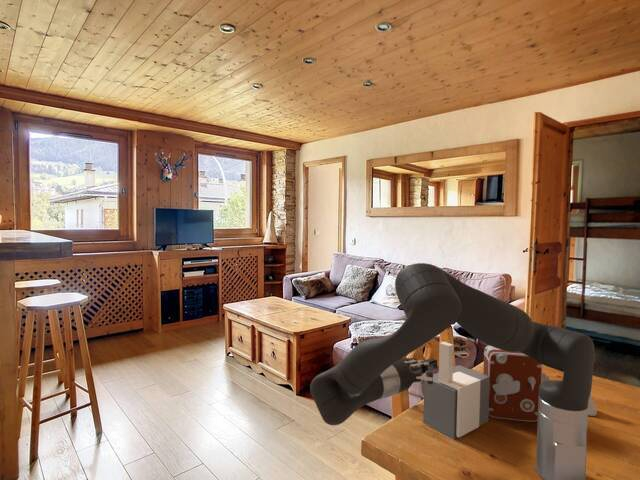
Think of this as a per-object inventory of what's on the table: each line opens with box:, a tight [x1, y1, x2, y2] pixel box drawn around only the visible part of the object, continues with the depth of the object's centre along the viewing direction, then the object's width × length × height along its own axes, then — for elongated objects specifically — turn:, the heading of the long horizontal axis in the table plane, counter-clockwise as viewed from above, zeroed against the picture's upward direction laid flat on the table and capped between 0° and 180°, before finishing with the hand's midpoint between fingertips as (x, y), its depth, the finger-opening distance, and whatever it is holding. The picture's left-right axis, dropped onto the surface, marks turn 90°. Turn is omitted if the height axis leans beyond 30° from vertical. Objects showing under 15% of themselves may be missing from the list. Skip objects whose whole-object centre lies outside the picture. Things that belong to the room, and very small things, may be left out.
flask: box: [588, 392, 598, 417], centre depth 112 cm, size 7×7×10 cm
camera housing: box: [422, 364, 490, 441], centre depth 106 cm, size 20×10×13 cm, turn 125°
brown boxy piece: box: [482, 345, 550, 423], centre depth 109 cm, size 9×19×20 cm, turn 78°
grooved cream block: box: [438, 341, 480, 438], centre depth 101 cm, size 9×7×23 cm
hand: (434, 362), depth 97 cm, fingers closed
